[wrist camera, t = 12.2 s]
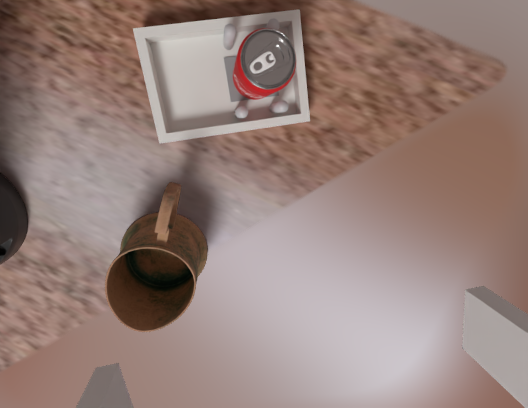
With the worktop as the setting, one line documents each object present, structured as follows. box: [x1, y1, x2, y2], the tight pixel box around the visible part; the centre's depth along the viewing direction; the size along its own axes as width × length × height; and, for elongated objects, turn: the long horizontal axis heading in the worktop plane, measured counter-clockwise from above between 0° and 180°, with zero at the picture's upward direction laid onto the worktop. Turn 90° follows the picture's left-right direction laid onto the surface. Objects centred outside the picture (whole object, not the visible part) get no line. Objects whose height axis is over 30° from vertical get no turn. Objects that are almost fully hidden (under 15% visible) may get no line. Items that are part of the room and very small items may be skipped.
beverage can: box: [233, 28, 296, 100], centre depth 32 cm, size 5×5×12 cm
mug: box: [105, 182, 207, 332], centre depth 37 cm, size 12×18×12 cm, turn 164°
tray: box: [133, 9, 310, 144], centre depth 35 cm, size 18×12×7 cm, turn 98°
